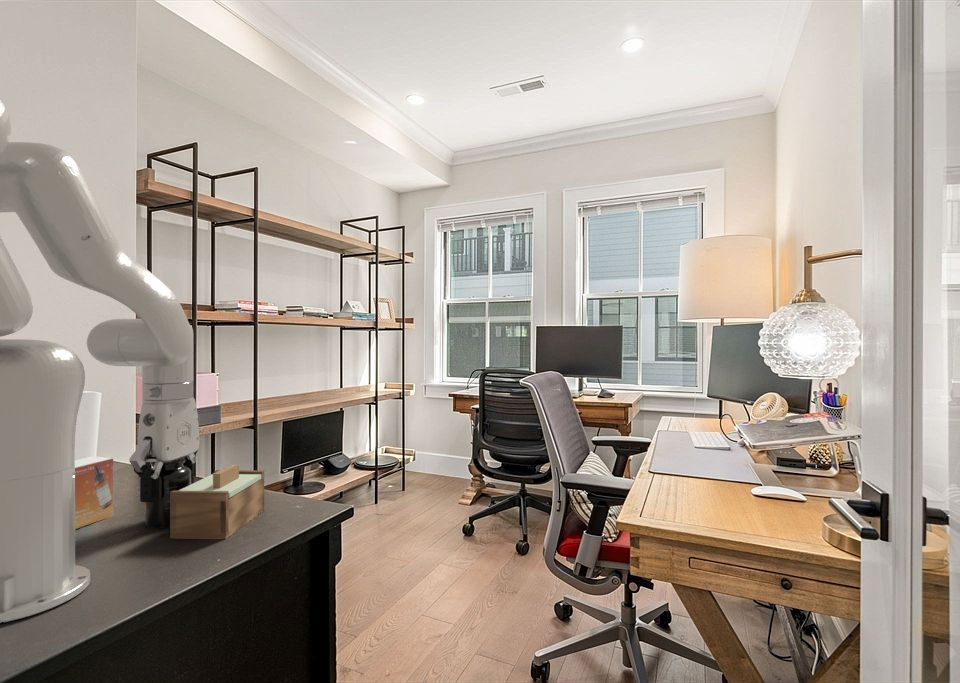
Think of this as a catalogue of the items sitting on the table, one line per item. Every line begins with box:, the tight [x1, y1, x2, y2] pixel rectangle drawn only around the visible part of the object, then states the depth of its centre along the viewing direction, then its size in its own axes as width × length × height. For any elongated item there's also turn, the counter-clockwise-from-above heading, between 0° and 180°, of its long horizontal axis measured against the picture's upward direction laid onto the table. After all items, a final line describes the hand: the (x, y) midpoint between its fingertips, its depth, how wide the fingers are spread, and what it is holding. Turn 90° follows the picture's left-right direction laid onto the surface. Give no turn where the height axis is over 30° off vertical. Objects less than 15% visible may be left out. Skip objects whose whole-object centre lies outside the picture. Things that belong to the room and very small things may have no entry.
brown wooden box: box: [169, 469, 265, 540], centre depth 84 cm, size 13×9×7 cm
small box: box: [75, 456, 114, 530], centre depth 84 cm, size 8×6×10 cm
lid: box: [179, 463, 261, 498], centre depth 84 cm, size 11×9×3 cm
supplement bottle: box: [144, 457, 191, 529], centre depth 85 cm, size 7×7×12 cm
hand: (168, 492), depth 85 cm, fingers open, 8 cm apart
